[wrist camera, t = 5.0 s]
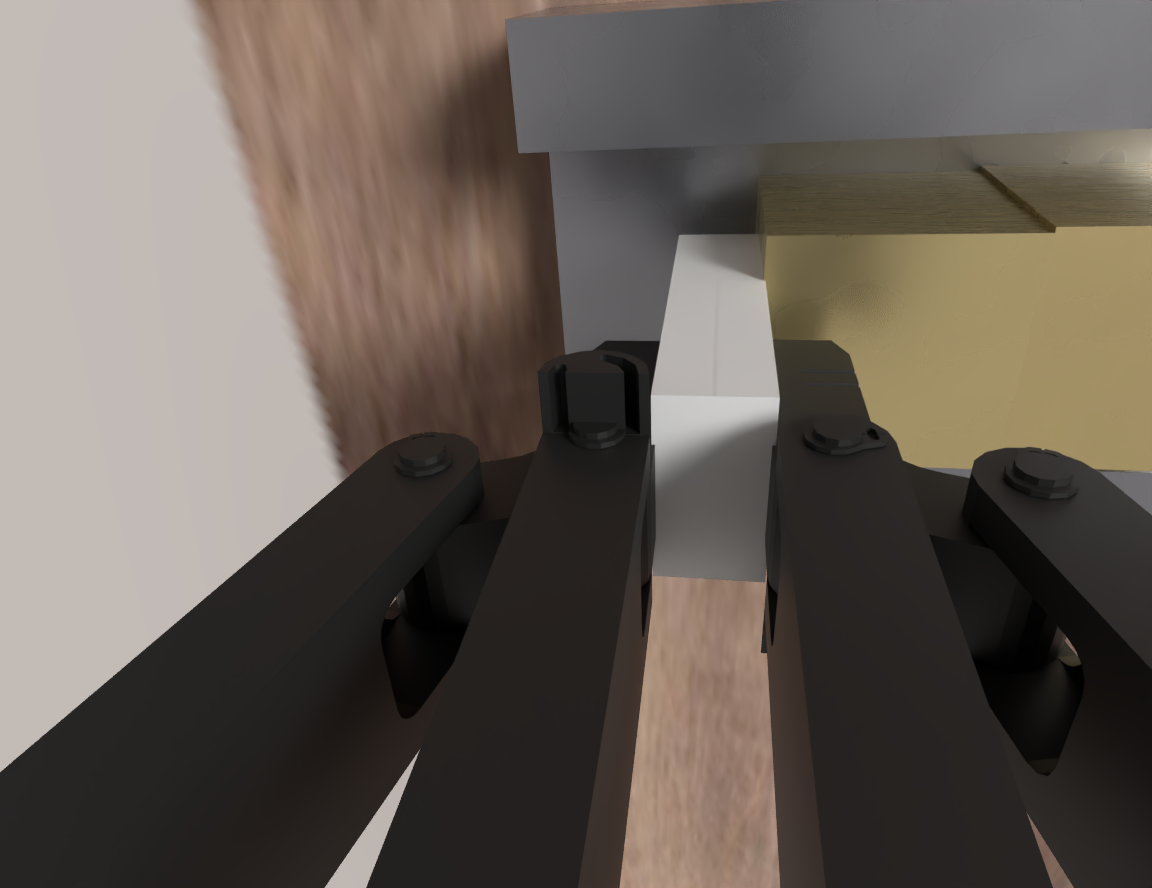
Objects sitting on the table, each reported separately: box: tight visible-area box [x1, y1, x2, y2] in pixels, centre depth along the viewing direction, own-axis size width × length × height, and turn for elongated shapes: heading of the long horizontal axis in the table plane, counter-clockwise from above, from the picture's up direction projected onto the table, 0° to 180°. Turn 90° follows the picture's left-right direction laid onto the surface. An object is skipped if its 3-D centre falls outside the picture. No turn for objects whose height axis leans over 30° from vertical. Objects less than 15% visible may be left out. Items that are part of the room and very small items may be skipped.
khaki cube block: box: [981, 162, 1152, 471], centre depth 14 cm, size 4×4×4 cm
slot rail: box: [505, 0, 1152, 515], centre depth 16 cm, size 10×12×4 cm
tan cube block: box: [755, 171, 1055, 469], centre depth 14 cm, size 4×4×4 cm
